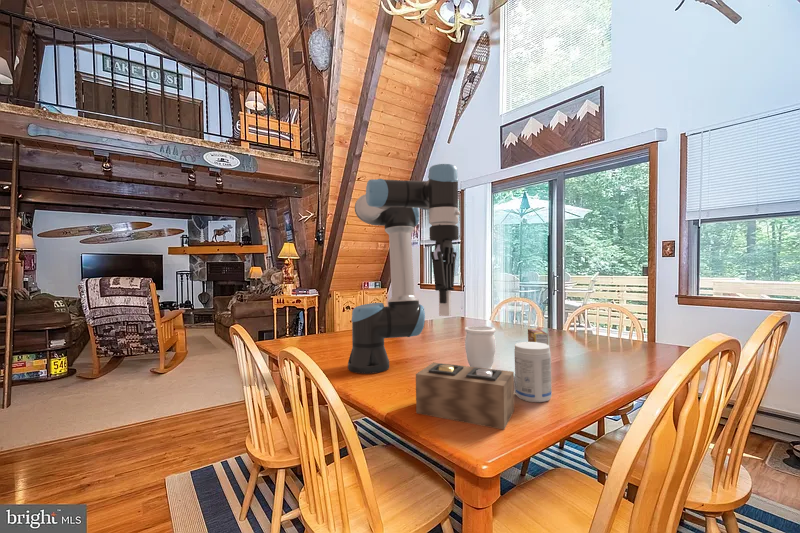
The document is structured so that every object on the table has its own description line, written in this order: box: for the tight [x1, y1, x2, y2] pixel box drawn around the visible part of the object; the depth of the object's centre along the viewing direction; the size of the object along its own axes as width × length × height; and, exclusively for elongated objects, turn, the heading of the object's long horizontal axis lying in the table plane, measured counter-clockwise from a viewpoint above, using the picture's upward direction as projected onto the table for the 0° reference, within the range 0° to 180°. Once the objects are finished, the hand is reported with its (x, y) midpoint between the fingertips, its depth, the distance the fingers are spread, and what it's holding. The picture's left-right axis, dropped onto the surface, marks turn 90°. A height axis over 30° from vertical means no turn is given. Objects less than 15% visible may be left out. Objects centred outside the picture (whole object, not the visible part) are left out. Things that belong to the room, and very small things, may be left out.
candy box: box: [527, 328, 549, 345], centre depth 123 cm, size 9×4×15 cm, turn 177°
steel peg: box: [476, 369, 493, 377], centre depth 93 cm, size 4×4×10 cm
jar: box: [464, 325, 497, 369], centre depth 131 cm, size 11×10×15 cm
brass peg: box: [439, 364, 454, 372], centre depth 97 cm, size 4×4×10 cm
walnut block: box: [415, 362, 515, 430], centre depth 95 cm, size 22×12×11 cm, turn 63°
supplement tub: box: [514, 341, 552, 403], centre depth 105 cm, size 10×10×15 cm
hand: (445, 315), depth 98 cm, fingers closed
